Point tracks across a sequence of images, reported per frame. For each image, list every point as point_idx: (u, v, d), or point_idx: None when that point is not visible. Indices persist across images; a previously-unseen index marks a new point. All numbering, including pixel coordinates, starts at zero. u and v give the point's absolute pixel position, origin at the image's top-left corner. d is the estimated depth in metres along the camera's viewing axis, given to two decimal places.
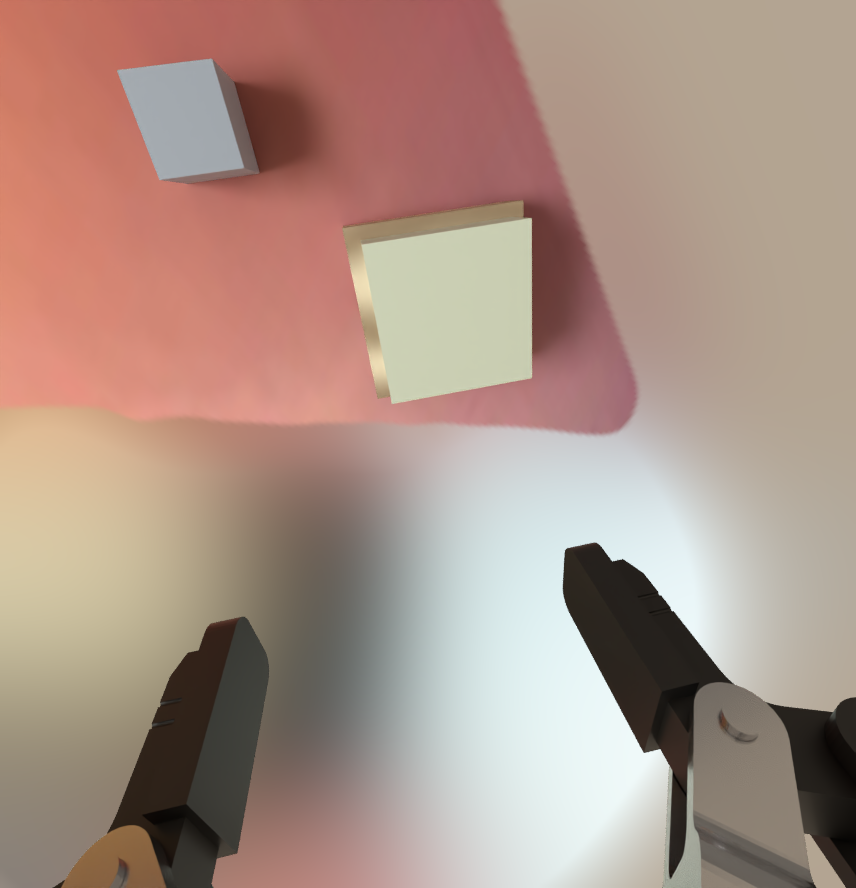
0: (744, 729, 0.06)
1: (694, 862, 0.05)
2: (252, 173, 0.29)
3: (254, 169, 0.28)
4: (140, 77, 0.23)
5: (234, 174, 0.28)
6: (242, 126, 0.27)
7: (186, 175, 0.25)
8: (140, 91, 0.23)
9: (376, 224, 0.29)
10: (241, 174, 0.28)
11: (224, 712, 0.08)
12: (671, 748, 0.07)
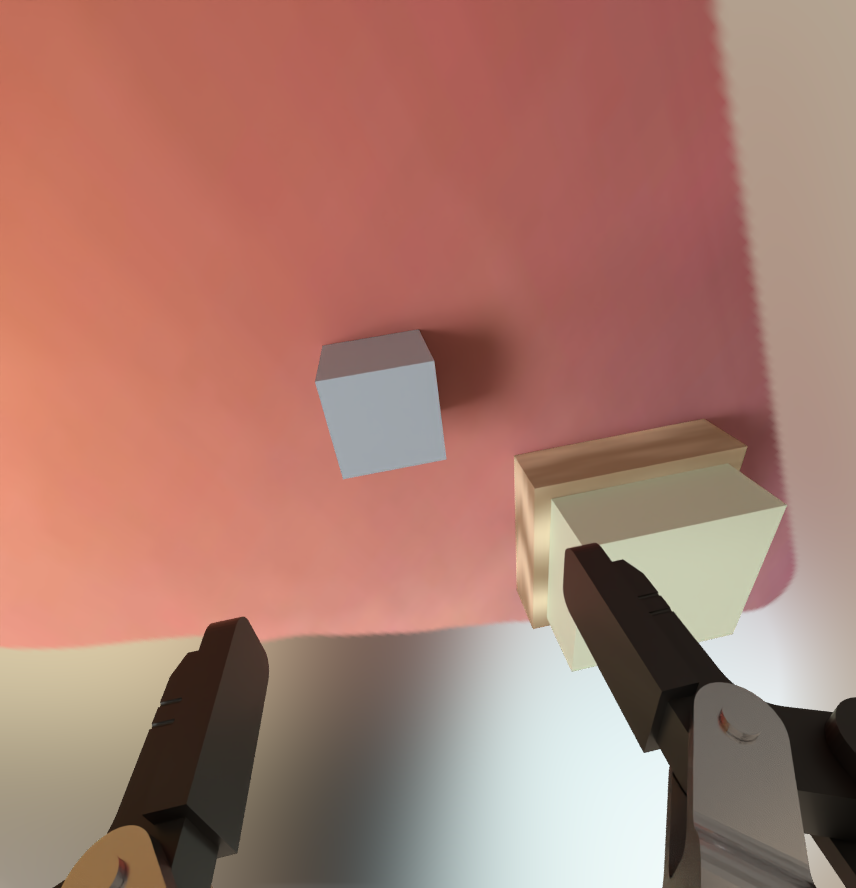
0: (744, 729, 0.06)
1: (694, 862, 0.05)
2: None
3: None
4: (342, 386, 0.17)
5: None
6: None
7: (375, 471, 0.20)
8: (339, 399, 0.18)
9: (574, 481, 0.24)
10: None
11: (224, 713, 0.08)
12: (671, 748, 0.07)
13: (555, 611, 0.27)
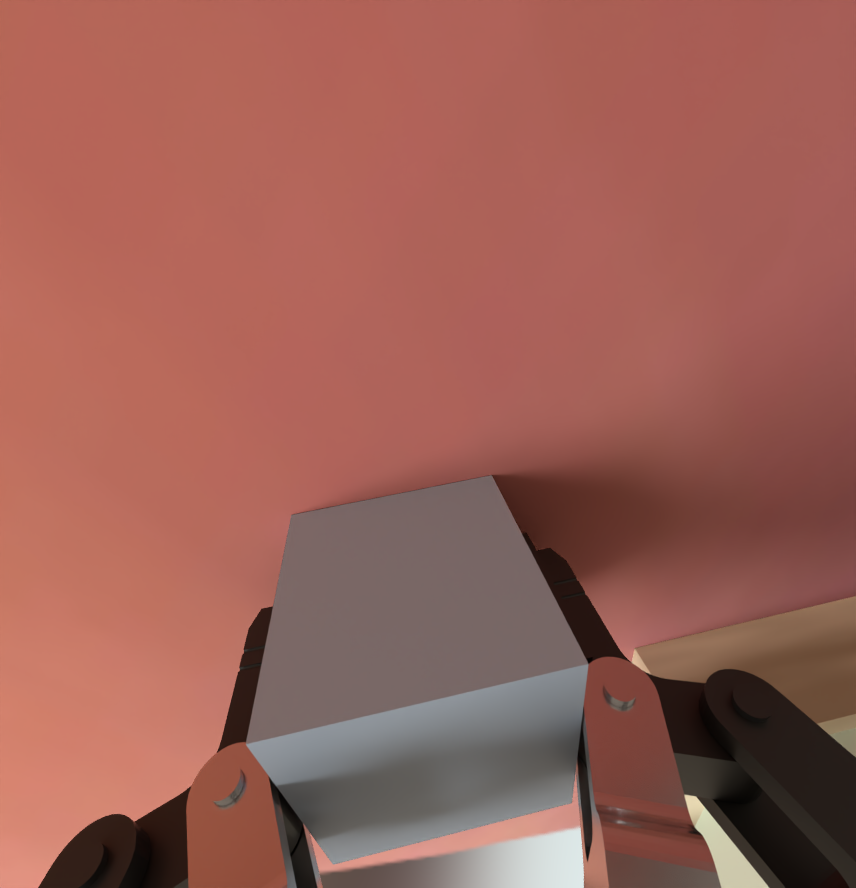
0: (620, 697, 0.07)
1: (600, 844, 0.05)
2: None
3: None
4: (327, 741, 0.06)
5: None
6: None
7: (409, 840, 0.08)
8: (319, 762, 0.06)
9: None
10: None
11: None
12: None
13: None
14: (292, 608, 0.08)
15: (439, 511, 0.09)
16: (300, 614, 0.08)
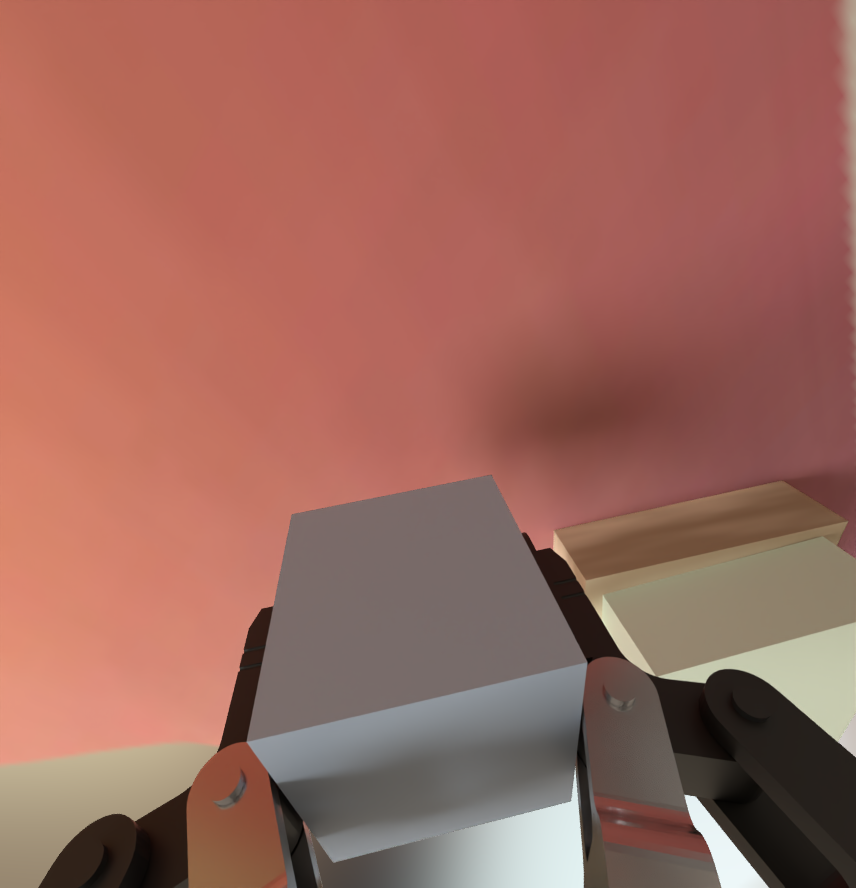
0: (620, 697, 0.07)
1: (600, 844, 0.05)
2: None
3: None
4: (327, 738, 0.06)
5: None
6: None
7: (409, 838, 0.09)
8: (319, 760, 0.06)
9: (635, 570, 0.19)
10: None
11: None
12: None
13: None
14: (292, 607, 0.08)
15: (439, 511, 0.10)
16: (300, 613, 0.08)
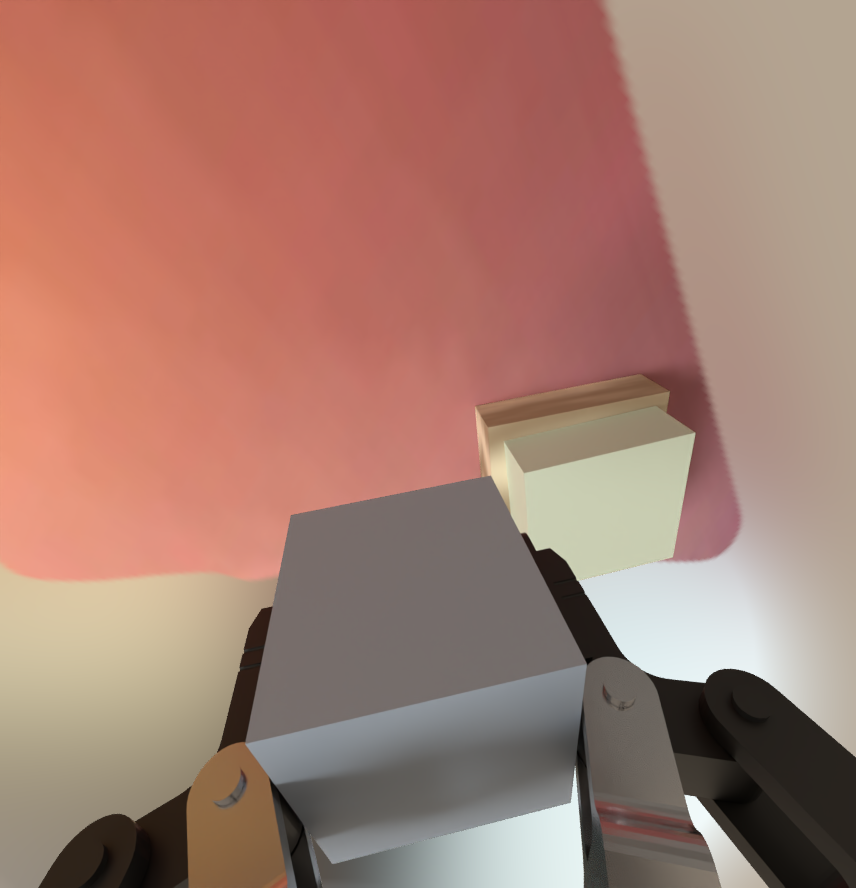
0: (620, 697, 0.07)
1: (600, 844, 0.05)
2: None
3: None
4: (326, 740, 0.06)
5: None
6: None
7: (408, 839, 0.09)
8: (318, 762, 0.06)
9: (522, 421, 0.28)
10: None
11: None
12: None
13: None
14: (291, 608, 0.08)
15: (438, 511, 0.09)
16: (299, 614, 0.08)
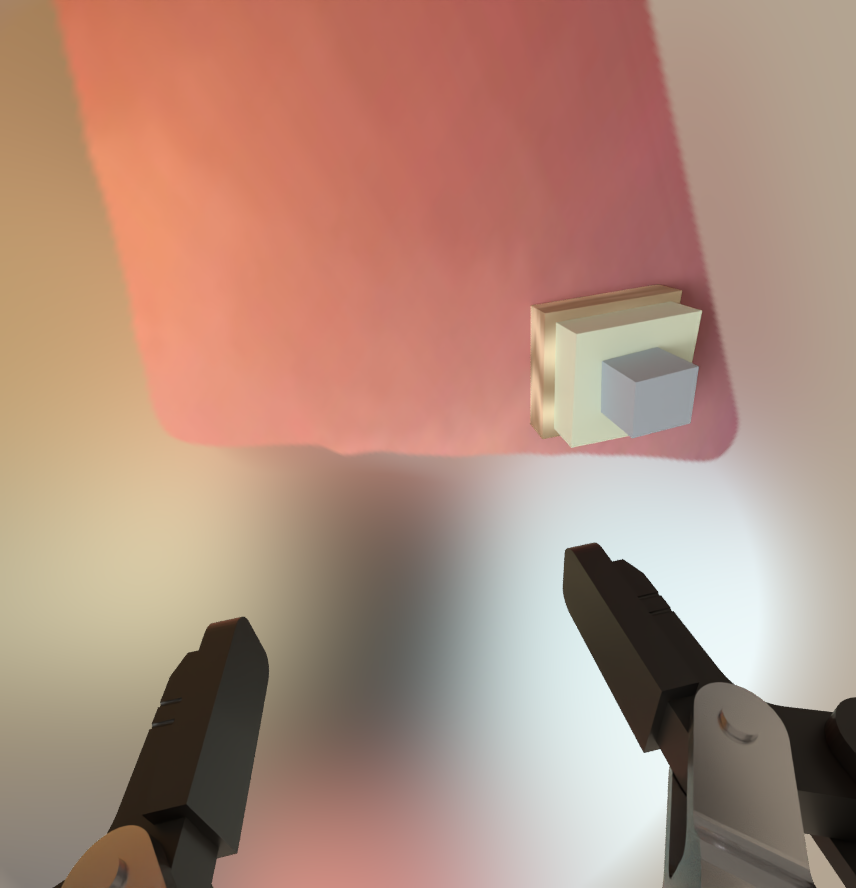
0: (744, 729, 0.06)
1: (694, 862, 0.05)
2: None
3: None
4: (648, 383, 0.32)
5: None
6: None
7: (650, 432, 0.34)
8: (644, 391, 0.32)
9: (570, 310, 0.37)
10: None
11: (223, 712, 0.08)
12: (672, 748, 0.07)
13: (560, 412, 0.41)
14: (624, 371, 0.33)
15: (647, 354, 0.35)
16: (627, 371, 0.33)
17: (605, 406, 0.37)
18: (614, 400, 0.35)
